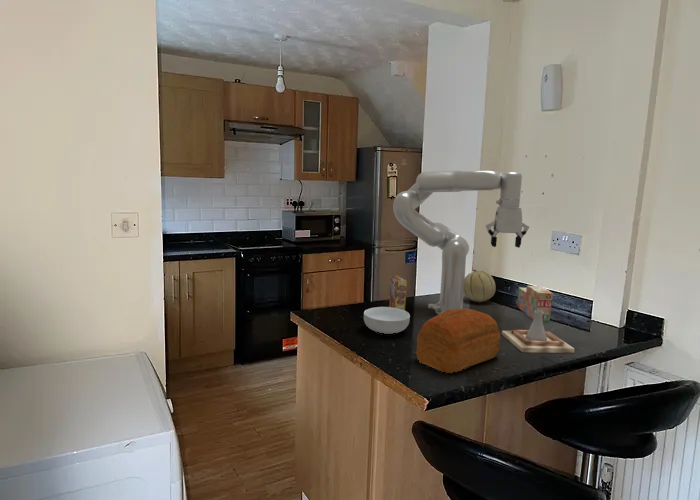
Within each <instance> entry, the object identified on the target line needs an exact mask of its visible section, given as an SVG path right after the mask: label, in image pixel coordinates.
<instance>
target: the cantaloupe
mask: <svg viewBox="0 0 700 500" xmlns="http://www.w3.org/2000/svg"><path fill="white" fill-rule="evenodd" d="M496 287H497V286H496V282H495V280H494V277H493V276H492V275H491V274H490V273H489V272H487V271H484V270H477V269H473V270H472V271H471V272H470V273H468V274H467V275H465V281H464V295H465V296H466V297H467V299H468V300H470V301H472V302H476V303H484V302H486V301H488V300H490V299H492V297H494V295H495V293H496V290H497V289H496Z"/></svg>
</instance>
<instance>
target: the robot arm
mask: <svg viewBox="0 0 700 500" xmlns="http://www.w3.org/2000/svg"><path fill="white" fill-rule="evenodd" d="M522 175H523V174H522V173H521V172H519V171H517V172H516V171H505V172H500V171H495V170H474V171H473V170H471V171H470V170H469V171H467V170H466V171H465V170H464V171H463V170H462V171H461V170H438V171H423V172H420V174H418V175H417V177H416V179H415V182H414V184H413V185H412V186H411V187H410V188H408V190H405V191H401V192H399V193H398V194H396V196H395V197H394V199H393V200H394V201H393V203H392V204H393V205H392V208H393V210H392V211H393V214H394V217H395V219H396V220H397V222H398V223H399V224H400V225H402V226H403V228H405V229H407V230H408V231H409V232H411V233H412V234H413V235H415V236H416V237H417V238H418V239H419V240H421V241H422V242H423V243H425V244H426V245H427V246H430V247H432V248H433V247H437V248H439V249H440V250H442V252H441V277H440V278H441V279H440V281H441V282H440V294H439V301H437V302H436V303H428V304H427V307H428V309H432V310H435V311H434V312H435V314H437V315H439V314H441V313H442V312H444V311H448V310H452V309H463V305H464V295H465V293H464V281H465V277H466V264H467V263H466V261H467V255H468V253H469V250H470V246H469V243H468V241H467V239H465V238H464V237H462V236H461V235H459V234H458V233H457V232H455V231H454V230H453V229H451V228H450V227H448V226H447V225H445V224H443V223H441V222H432V221H431V219H428V218H427V217H426V216H425V215H422V214H421V213H420V212H418V211H417V210H416V209H417V208H419V207H420V206H421V205H422V204H423V203H424V202H425V201H426V200H427V199H428V198H429V197H430V196H431V195H432V194H434V193H457V192H458V193H460V192H468V191H470V192H473V191H492V190H493V191H494V190H500V193H499V199H498V200H496V201H495V204H496V205H498V206H497V208H496V210H495V215H494V221H491V222H490V223H488V224H485V229H486V231H487V233H488V234H489V236H490V245H491V246H492V247H493V248H495V247H497V242H498V241H497V239H498V237H497V235H498V234H499V233H502V234H504V233H505V234H515V235H516V236H515V241H514V247H516V248H521V245H522V238H524V236H525V235H527V232H528V230H529V229H530V226H528V225H527V224H525V223H523V212H522V211H523V209H522V207H520V204H521V203H520V201H521V191H522V180H523V179H522V178H523V176H522ZM491 227H493V230H492V228H491Z"/></svg>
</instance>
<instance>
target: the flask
mask: <svg viewBox="0 0 700 500" xmlns="http://www.w3.org/2000/svg"><path fill="white" fill-rule="evenodd" d="M534 313H535V315H534V319H532V323H531V324H530V327H529V329H528V330H529V331H528V333H527V334H526V336H525V337H526V338H527V339H528V340H532V341H546V340H547V337H546V334H545V330H546V329H545V327H544V321H543V320H542V315H543V313H544V312H543V311H534Z"/></svg>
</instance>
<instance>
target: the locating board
mask: <svg viewBox="0 0 700 500" xmlns="http://www.w3.org/2000/svg"><path fill="white" fill-rule="evenodd" d="M544 330H545V334H546V337H547V340H546V341H532V340H528V339H527V338H526V337H525V336H526V334H527V333H528V331H529V329H511V330H501V335H502V336H503V337H504V338H505V339H506V340H507V341H508V342H509V343H511V344H512V345H513V347H516V349H518V350H519V352H522V353H541V354H543V353H545V354H546V353H551V354H552V353H553V354H554V353H556V354H557V353H558V354H559V353H561V354H564V353H565V354H568V353H569V354H571V353H573V354H574V353H575V348H574V347H572V345H570V344H568V343H567V342H565V341H564V340H563V339H561V338H559V337H558V336H557V335H555V334H554V333H552V332H551V331H549V330H546V329H544Z"/></svg>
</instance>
